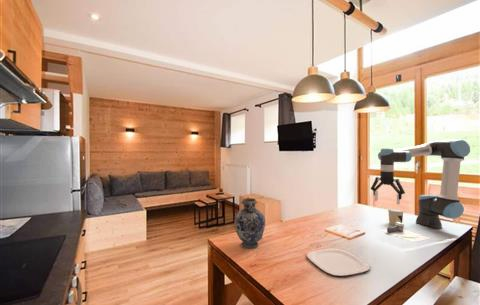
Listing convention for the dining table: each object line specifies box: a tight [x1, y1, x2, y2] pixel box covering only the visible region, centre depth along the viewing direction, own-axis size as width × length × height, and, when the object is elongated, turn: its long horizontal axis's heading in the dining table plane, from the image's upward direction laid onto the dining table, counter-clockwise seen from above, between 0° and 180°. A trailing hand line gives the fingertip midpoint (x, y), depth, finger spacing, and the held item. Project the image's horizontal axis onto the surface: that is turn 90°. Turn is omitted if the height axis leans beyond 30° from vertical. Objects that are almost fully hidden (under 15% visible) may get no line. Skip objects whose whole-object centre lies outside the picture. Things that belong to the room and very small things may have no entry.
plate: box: [306, 248, 371, 277], centre depth 115 cm, size 25×25×2 cm
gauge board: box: [379, 228, 431, 243], centre depth 149 cm, size 18×22×2 cm
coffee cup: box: [387, 208, 404, 226], centre depth 169 cm, size 9×9×12 cm
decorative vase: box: [234, 196, 266, 250], centre depth 137 cm, size 21×19×28 cm
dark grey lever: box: [386, 222, 405, 234], centre depth 153 cm, size 13×5×5 cm, turn 109°
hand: (386, 202), depth 152 cm, fingers open, 13 cm apart
